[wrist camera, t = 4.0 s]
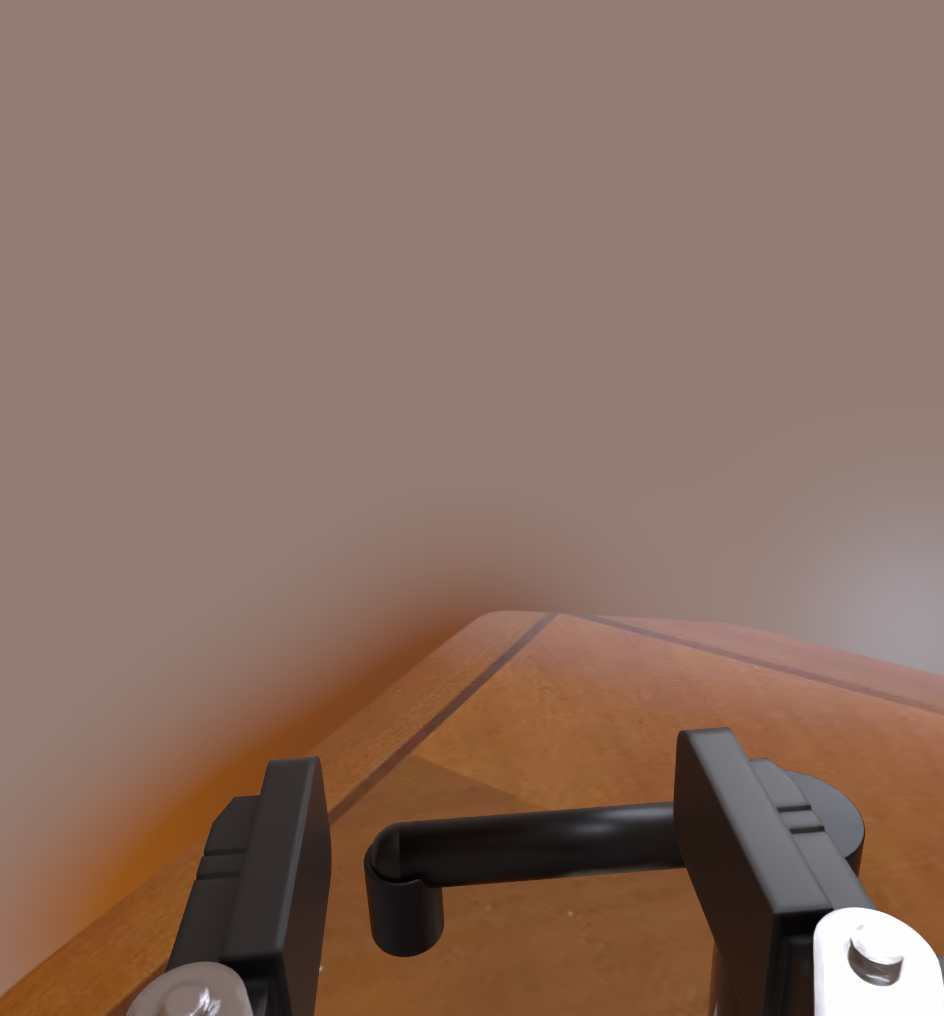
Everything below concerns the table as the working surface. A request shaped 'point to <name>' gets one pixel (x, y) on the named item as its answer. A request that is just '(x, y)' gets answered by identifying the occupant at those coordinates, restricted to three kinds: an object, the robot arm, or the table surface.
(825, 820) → the spout
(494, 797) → the table surface
